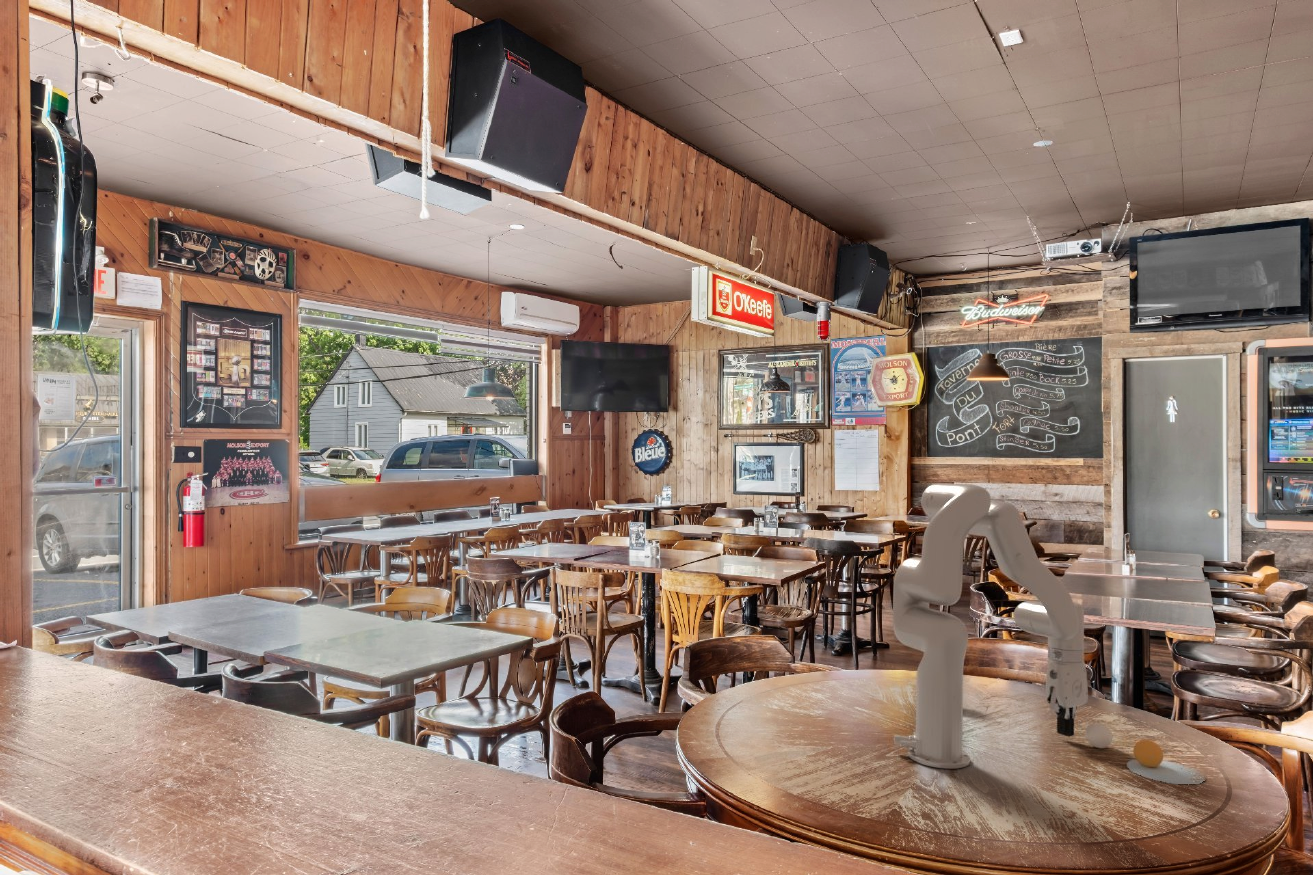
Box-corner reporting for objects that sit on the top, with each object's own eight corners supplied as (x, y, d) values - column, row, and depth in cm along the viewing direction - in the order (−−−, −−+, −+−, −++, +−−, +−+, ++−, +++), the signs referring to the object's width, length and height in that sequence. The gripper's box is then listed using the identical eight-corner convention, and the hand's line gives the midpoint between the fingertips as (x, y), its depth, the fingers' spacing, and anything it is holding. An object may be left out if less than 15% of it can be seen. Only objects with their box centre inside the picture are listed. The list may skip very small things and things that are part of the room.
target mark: (1140, 780, 167) (1140, 779, 167) (1117, 756, 181) (1117, 756, 181) (1217, 788, 164) (1217, 787, 164) (1188, 763, 178) (1188, 762, 178)
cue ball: (1099, 719, 185) (1092, 743, 183) (1121, 730, 185) (1114, 753, 183) (1084, 717, 190) (1077, 740, 189) (1105, 727, 190) (1098, 750, 189)
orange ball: (1133, 743, 174) (1144, 770, 172) (1160, 737, 173) (1171, 764, 171) (1125, 742, 179) (1136, 769, 177) (1151, 736, 179) (1162, 763, 176)
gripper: (1062, 662, 184) (1061, 744, 184) (1099, 654, 192) (1099, 733, 192) (1031, 655, 191) (1031, 734, 190) (1068, 648, 199) (1068, 724, 198)
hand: (1065, 734), depth 191 cm, fingers closed
